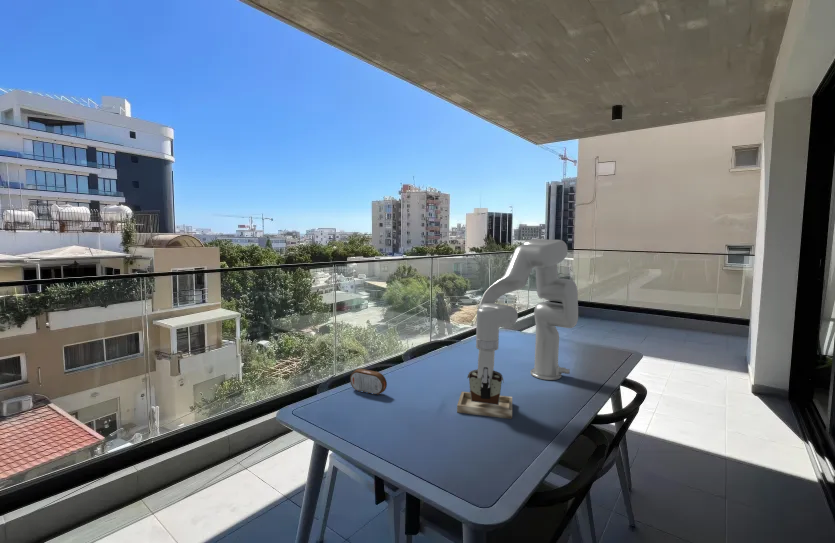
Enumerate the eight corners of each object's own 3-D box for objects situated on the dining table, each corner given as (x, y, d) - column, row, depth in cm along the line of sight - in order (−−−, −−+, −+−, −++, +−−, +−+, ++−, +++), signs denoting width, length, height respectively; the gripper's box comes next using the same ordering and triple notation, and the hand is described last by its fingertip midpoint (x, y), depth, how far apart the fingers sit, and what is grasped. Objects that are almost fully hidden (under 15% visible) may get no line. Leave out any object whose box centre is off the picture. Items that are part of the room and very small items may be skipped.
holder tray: (512, 403, 138) (512, 396, 138) (512, 418, 127) (512, 411, 126) (461, 398, 142) (461, 391, 142) (457, 412, 131) (457, 405, 131)
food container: (505, 398, 136) (505, 370, 135) (503, 405, 130) (503, 377, 129) (470, 393, 140) (470, 366, 139) (466, 400, 134) (467, 372, 133)
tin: (387, 394, 145) (387, 372, 144) (383, 397, 142) (383, 375, 141) (353, 387, 151) (353, 366, 151) (348, 390, 149) (348, 369, 148)
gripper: (478, 336, 142) (477, 384, 143) (473, 350, 125) (472, 404, 127) (499, 337, 140) (497, 386, 142) (497, 351, 123) (496, 406, 125)
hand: (486, 394), depth 134 cm, fingers closed on food container, 5 cm apart
